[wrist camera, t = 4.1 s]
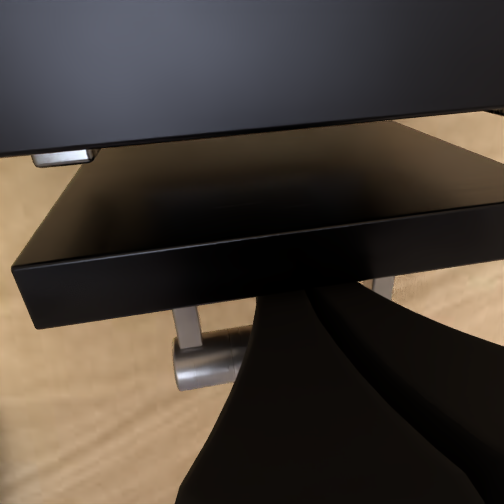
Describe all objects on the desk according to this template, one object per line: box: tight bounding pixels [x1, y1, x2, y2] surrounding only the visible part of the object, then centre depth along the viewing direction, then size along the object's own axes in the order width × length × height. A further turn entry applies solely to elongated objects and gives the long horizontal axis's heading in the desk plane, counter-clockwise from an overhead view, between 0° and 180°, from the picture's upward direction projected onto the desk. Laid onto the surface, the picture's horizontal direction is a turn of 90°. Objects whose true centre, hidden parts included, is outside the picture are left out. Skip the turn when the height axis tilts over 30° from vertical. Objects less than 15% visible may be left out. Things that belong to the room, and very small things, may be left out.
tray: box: [11, 109, 504, 391], centre depth 8 cm, size 15×9×7 cm, turn 3°
